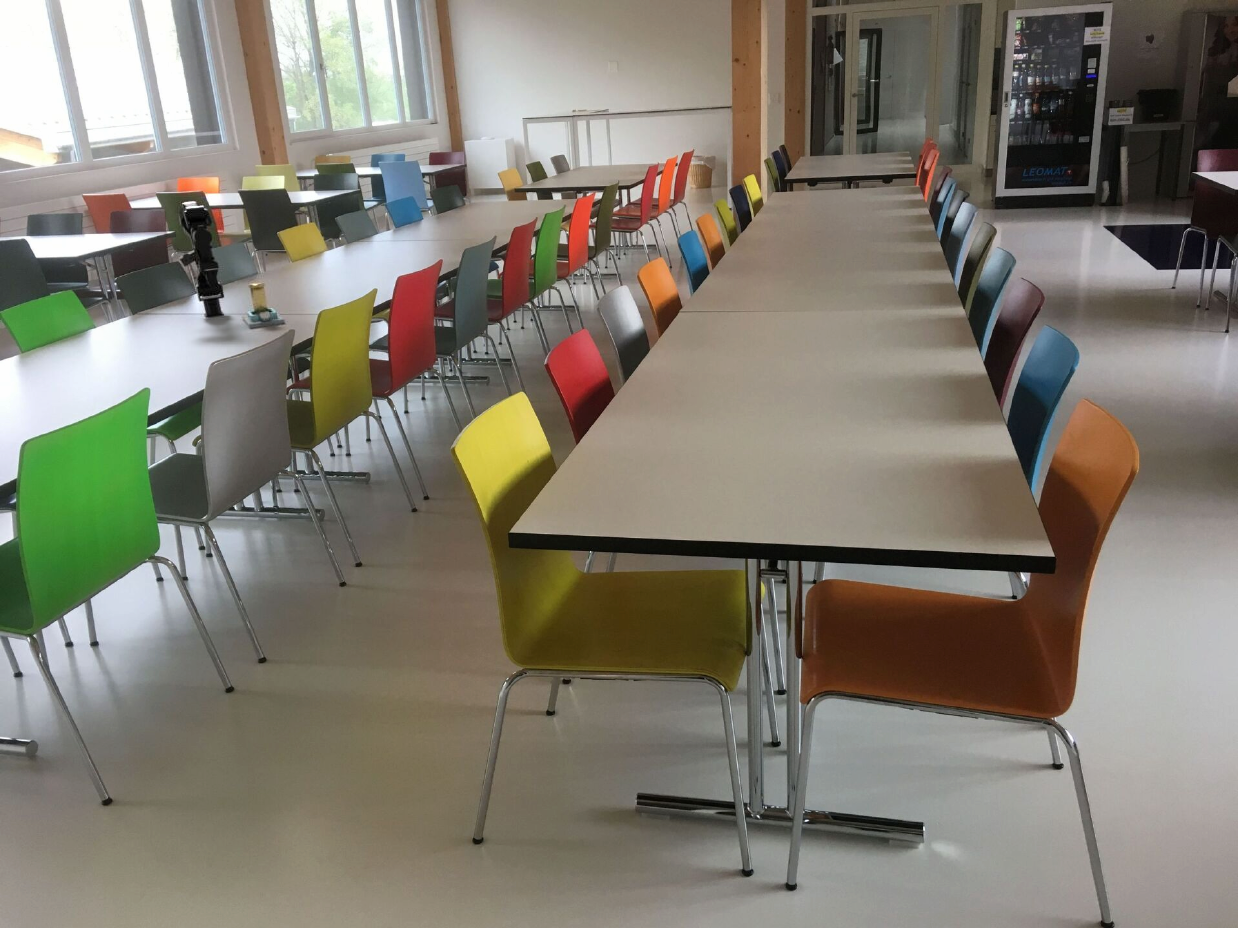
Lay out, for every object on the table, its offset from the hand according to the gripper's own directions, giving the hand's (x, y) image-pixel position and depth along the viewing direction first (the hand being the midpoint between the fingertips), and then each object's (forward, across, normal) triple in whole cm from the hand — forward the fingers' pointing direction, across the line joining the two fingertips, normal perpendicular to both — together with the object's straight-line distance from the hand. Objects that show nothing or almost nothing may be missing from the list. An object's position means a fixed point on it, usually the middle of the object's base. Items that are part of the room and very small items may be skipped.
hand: (211, 286), depth 348 cm
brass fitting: (+12, +12, +14) cm, 22 cm away
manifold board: (+13, +12, +14) cm, 23 cm away
